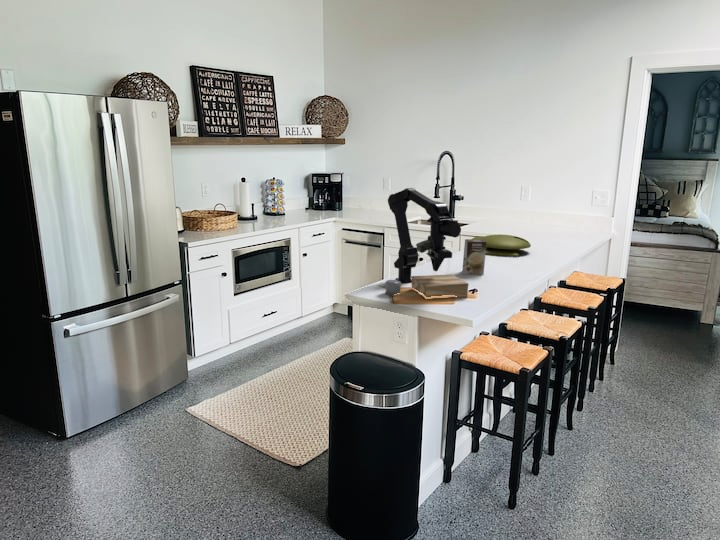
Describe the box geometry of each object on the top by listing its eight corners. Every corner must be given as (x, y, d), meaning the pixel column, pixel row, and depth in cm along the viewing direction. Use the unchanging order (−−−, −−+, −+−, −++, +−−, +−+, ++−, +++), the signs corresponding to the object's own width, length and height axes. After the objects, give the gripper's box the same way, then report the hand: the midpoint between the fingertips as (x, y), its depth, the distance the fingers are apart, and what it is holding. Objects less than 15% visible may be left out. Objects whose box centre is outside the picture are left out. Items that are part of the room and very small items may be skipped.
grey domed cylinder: (383, 291, 219) (383, 280, 218) (396, 291, 221) (397, 279, 219) (388, 296, 213) (389, 284, 212) (402, 295, 215) (403, 283, 214)
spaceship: (466, 254, 303) (467, 237, 300) (471, 245, 331) (472, 229, 329) (530, 259, 293) (531, 241, 291) (529, 249, 322) (531, 233, 319)
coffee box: (465, 274, 252) (467, 241, 248) (462, 271, 258) (464, 239, 255) (484, 274, 252) (486, 241, 249) (480, 271, 259) (483, 239, 255)
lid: (411, 277, 223) (411, 276, 223) (451, 275, 228) (451, 274, 228) (425, 287, 208) (426, 285, 208) (468, 285, 213) (468, 283, 213)
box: (411, 289, 224) (411, 277, 223) (450, 287, 229) (451, 275, 228) (425, 299, 209) (426, 287, 208) (467, 297, 214) (468, 285, 213)
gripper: (410, 231, 225) (409, 266, 228) (427, 238, 207) (425, 277, 211) (435, 230, 228) (433, 265, 231) (453, 237, 210) (451, 275, 214)
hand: (435, 270), depth 222 cm, fingers closed
